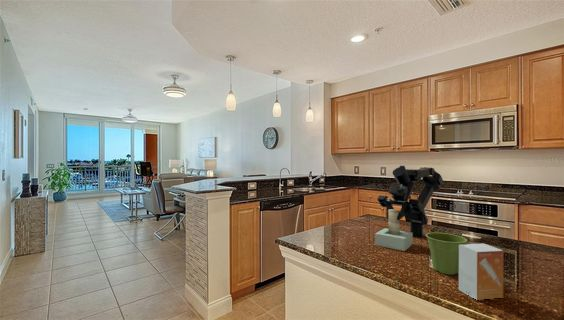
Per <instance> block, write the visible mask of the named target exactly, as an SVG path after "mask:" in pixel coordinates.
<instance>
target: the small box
mask: <svg viewBox="0 0 564 320" xmlns="http://www.w3.org/2000/svg"><path fill="white" fill-rule="evenodd" d="M504 253H505V252H504V250H503V249H500V248H497V247H494V246H492V245H489V244H486V243H468V244H466V243H465V245H459V272H458V290H459V291H460V292H462V293H463V294H465V295H467V296H468V295H469V298H472V299H473V298H474V299H473V300H475V299H476V300H475V301H477V300H479V301H485V300H484V299H490V300H495V299H494V298H503V299H504Z"/></svg>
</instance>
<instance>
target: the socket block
mask: <svg viewBox="0 0 564 320" xmlns="http://www.w3.org/2000/svg"><path fill="white" fill-rule="evenodd" d="M413 237H414V236H413V233H412V232H410V231H405V230H400V234H398V235H393V234H389V230H388V228H387V227H384V228H383V229H381V230H379V231H377V232H376V233H374V246H377V247H383V248H388V249H392V250H398V251H400V252H401V251H403V252H406V251H407V249H409V248H410V247H411V246H412V245H413V243H414V241H413Z"/></svg>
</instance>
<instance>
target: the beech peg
mask: <svg viewBox="0 0 564 320" xmlns="http://www.w3.org/2000/svg"><path fill="white" fill-rule="evenodd" d="M399 212H400V209H395V208H394V209H389V210H388V218H387V219H388V223H387V224H388V226H387V227H388V228H387V229H388V230H389V234H393V235H398V234H400V231H401V230H400V229H401V228H400V227H401V226H400V225H401V224H400V222H401V221H400V220H401V219H400V220H397V217H398V214H399Z"/></svg>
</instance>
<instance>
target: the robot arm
mask: <svg viewBox="0 0 564 320" xmlns="http://www.w3.org/2000/svg"><path fill="white" fill-rule="evenodd" d="M392 176H393V177H394V178H395V181H396V183H397V184H399V186H396V185H395V186H394V185H390V186H389V189H388V190H389V191H388V194H390V195H391V196H390V197H391V198H390V197H388V196H387V195H378V196H377V199H376V200H377V201H378V203H379V204H380V206H381V207H382V208H385V209H386V213H385V214H386V216H385V217H386V219H388V210H389V209H395V208H394V206H400V207H401V208H400V209H399V211H400V212H399V214H398V217H397V220H401V219H403V218H404V219H405V223H409V232H412V233H413V237H415V238H424V237H426V233H424V226H427V225H428V223H429V219H428V218H429V217H427V215H426V211H425V208H426V207H427V205H428V203H429V201H430V199H431V198H432V196H433V194H434V192H436V191H437V190H439V189H441V188H442V186H443V184H444V179H443V176H442V175H441V173H439V172H438V171H436V170H435V168H433V167H422V168H418V169H409V168H407V169H406V166H405V165H400V166H399V167H395V168H394V169H393V171H392ZM421 180H422V182H423V184H424V186H423V188H422V189H421V191H420V193H419V195H418V196H417V198H416V199H415V198H412V196H411V195H412V192H413V191H416V186H415V183H418V182H420V181H421ZM393 205H394V206H393Z"/></svg>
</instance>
